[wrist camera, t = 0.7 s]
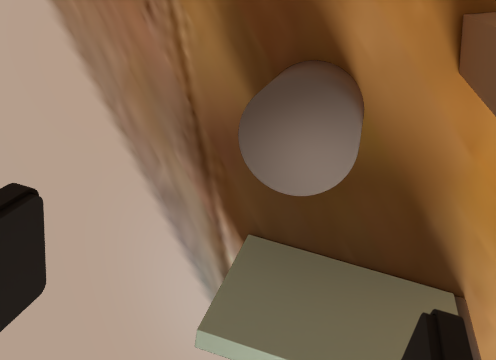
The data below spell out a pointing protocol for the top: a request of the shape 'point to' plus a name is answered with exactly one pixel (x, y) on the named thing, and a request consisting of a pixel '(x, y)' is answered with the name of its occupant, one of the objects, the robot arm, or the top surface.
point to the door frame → (480, 56)
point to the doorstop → (303, 129)
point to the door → (316, 308)
